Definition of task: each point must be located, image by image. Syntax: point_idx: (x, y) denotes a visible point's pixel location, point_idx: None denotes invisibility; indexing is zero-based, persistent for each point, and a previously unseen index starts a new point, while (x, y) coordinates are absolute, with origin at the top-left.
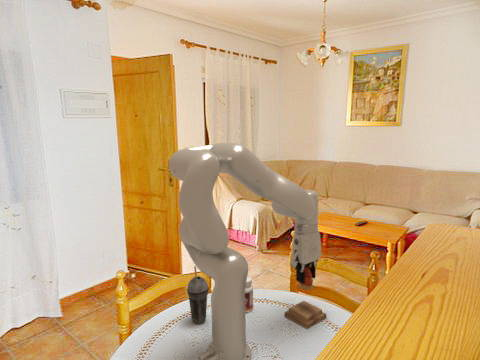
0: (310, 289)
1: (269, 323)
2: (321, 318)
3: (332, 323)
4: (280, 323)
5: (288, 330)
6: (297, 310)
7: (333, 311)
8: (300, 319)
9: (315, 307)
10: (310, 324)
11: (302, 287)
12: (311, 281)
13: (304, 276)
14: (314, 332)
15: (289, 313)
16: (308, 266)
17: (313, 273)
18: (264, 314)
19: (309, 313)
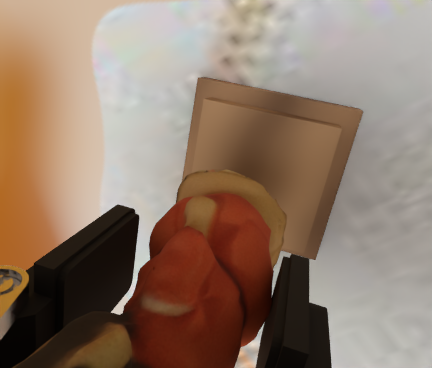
0: (253, 180)
1: (415, 282)
2: (240, 85)
3: (229, 26)
4: (385, 240)
5: (424, 182)
6: (295, 207)
7: (129, 75)
8: (331, 166)
9: (206, 139)
10: (333, 105)
11: (276, 249)
12: (221, 203)
13: (292, 299)
14: (366, 64)
15: (310, 235)
16: (134, 360)
17: (111, 240)
18: (353, 328)
19: (285, 139)
